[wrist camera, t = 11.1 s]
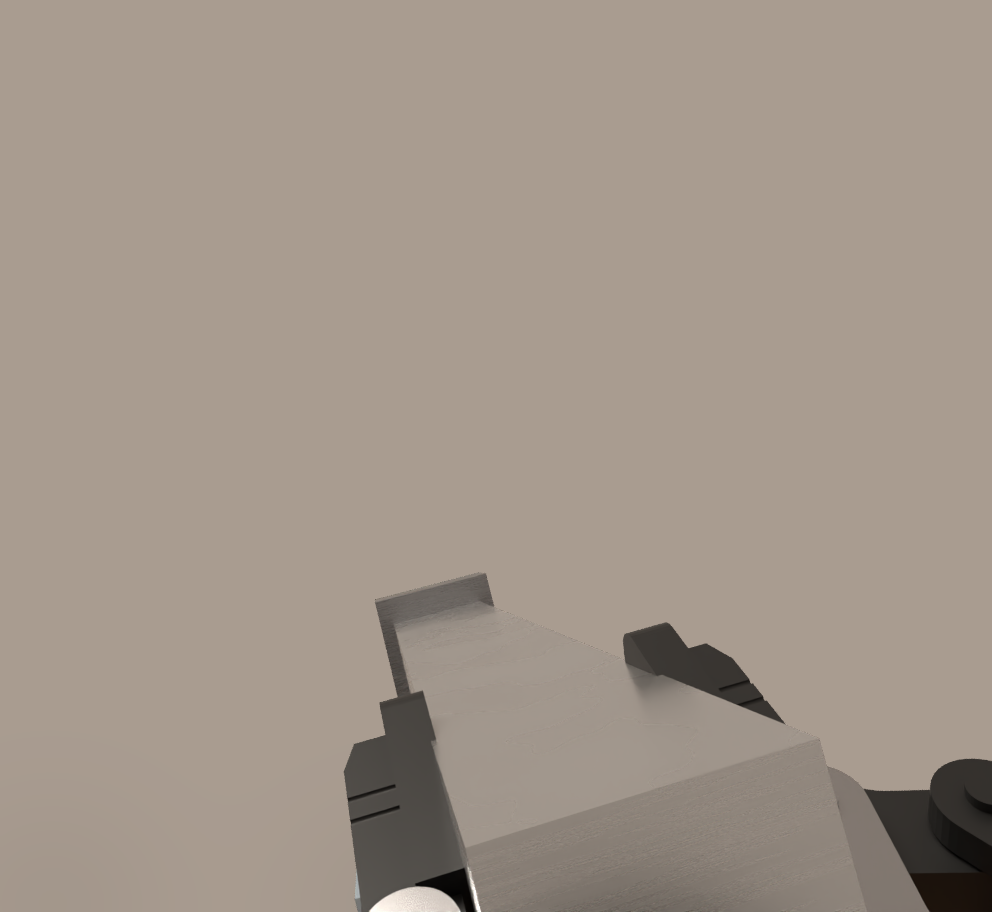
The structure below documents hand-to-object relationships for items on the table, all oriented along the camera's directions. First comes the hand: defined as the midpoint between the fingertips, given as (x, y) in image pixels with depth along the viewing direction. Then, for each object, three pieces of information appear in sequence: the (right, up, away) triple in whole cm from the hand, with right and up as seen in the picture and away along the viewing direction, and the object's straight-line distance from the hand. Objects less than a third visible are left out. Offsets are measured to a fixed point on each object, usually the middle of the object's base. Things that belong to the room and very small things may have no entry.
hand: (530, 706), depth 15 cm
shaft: (0, -4, +8) cm, 9 cm away
